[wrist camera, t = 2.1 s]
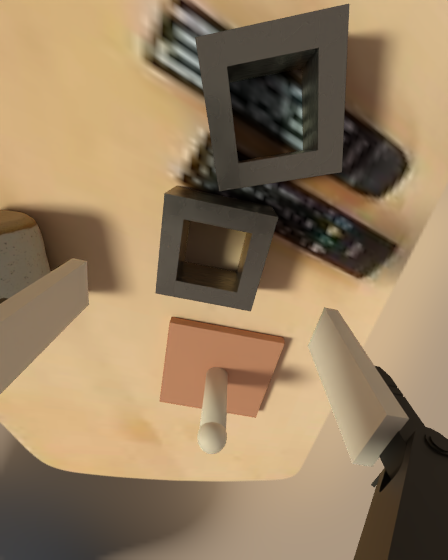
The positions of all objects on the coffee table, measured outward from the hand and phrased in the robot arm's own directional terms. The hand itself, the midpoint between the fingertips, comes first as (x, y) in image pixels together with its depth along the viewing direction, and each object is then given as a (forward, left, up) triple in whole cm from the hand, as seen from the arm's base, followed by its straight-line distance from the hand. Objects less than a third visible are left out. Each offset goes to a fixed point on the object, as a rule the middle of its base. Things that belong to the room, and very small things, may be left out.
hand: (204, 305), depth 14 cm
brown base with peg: (+15, +3, -10) cm, 18 cm away
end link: (0, 0, -10) cm, 10 cm away
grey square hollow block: (-10, +2, -10) cm, 15 cm away
